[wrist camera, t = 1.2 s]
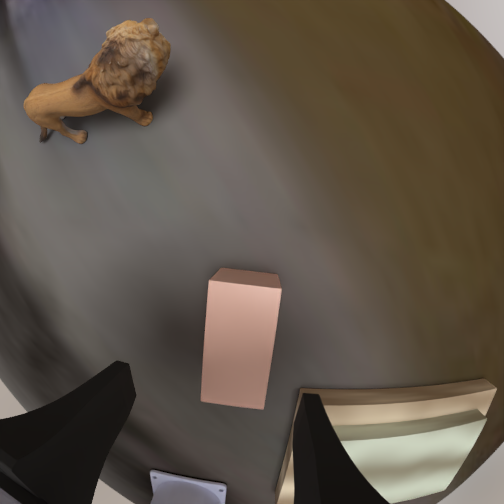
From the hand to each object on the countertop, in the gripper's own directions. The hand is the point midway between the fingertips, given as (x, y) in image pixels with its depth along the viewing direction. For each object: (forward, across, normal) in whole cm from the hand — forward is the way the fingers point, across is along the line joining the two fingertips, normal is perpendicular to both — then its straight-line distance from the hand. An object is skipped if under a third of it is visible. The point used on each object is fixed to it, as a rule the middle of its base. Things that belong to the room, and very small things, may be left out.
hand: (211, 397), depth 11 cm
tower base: (+8, -15, +15) cm, 23 cm away
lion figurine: (+14, +12, -12) cm, 22 cm away
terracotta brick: (+10, 0, +3) cm, 11 cm away
